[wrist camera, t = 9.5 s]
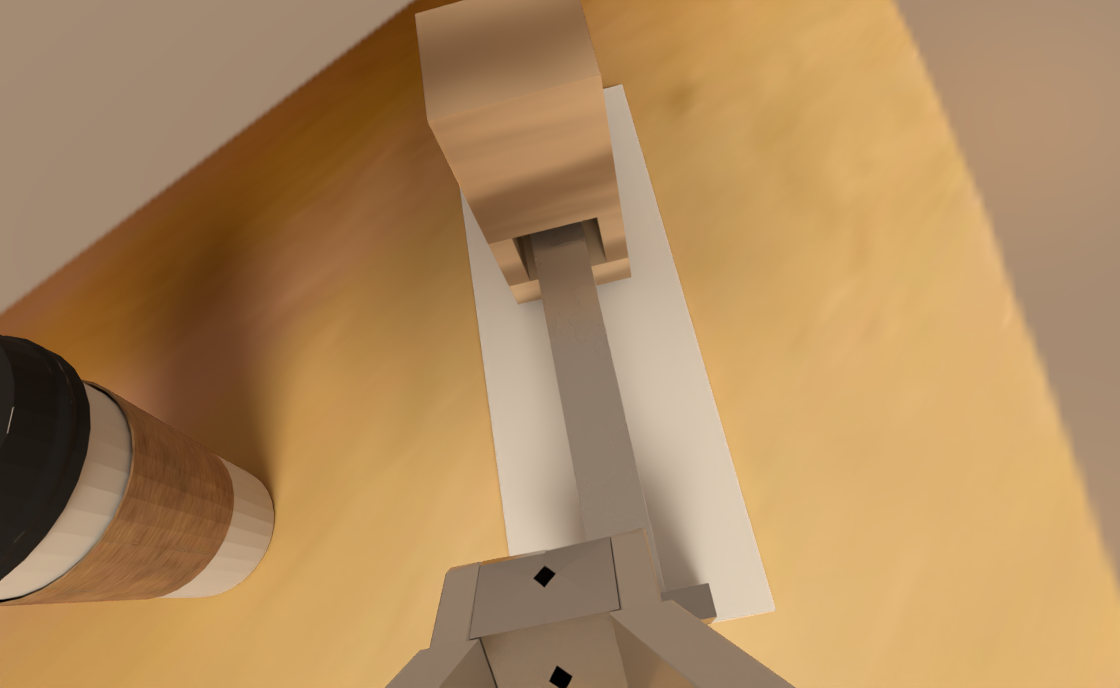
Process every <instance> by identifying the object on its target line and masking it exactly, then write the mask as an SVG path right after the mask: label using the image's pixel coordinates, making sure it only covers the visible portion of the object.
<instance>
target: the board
mask: <svg viewBox="0 0 1120 688" xmlns="http://www.w3.org/2000/svg"><path fill="white" fill-rule="evenodd" d="M603 93H604V99H605V106H606V112H607V119H608V125H609V132H610V139H611V145H612V152H613V158H614V165H615V172H616V178H617V185H618V191H619V198H620V204H621V211H622V218H623V224H624V231H625V237H626V244H627V251H628V257H629V264H630V270H631V277H630V278H626V279H622V280H618V281H614V282H610V283H605V284H601V285H597V286H596V287H597V292H598V296H599V301H600V305H601V309H602V314H603V318H604V322H605V327H606V331H607V336H608V340H609V344H610V349H611V353H612V358H613V362H614V366H615V371H616V375H617V379H618V384H619V388H620V393H621V397H622V401H623V406H624V410H625V414H626V419H627V423H628V428H629V432H630V436H631V441H632V445H633V450H634V454H635V458H636V463H637V467H638V471H639V476H640V480H641V485H642V489H643V493H644V498H645V502H646V507H647V511H648V515H649V520H650V524H651V528H652V533H653V537H654V542H655V546H656V550H657V555H658V559H659V564H660V568H661V572H662V577H663V581H664V585H665V590H666V591H670V590H675V589H680V588H685V587H690V586H696V585H701V584H706V583H709V586H710V590H711V594H712V598H713V602H714V606H715V610H716V614H717V617H716V618H715V619H714V621H713V622H712V623H716V622H721V621H726V620H731V619H737V618H742V617H747V616H752V615H757V614H762V613H767V612H773V611H775V610H776V609H775V605H774V602H773V598H772V595H771V592H770V588H769V585H768V581H767V578H766V574H765V571H764V568H763V564H762V561H761V557H760V554H759V551H758V547H757V544H756V540H755V537H754V533H753V530H752V527H751V523H750V520H749V516H748V513H747V509H746V506H745V503H744V499H743V496H742V492H741V489H740V486H739V482H738V479H737V475H736V472H735V468H734V465H733V462H732V458H731V455H730V451H729V448H728V444H727V441H726V438H725V434H724V431H723V427H722V424H721V421H720V417H719V414H718V410H717V407H716V403H715V400H714V397H713V393H712V390H711V386H710V383H709V379H708V376H707V373H706V369H705V366H704V362H703V359H702V356H701V352H700V349H699V345H698V342H697V338H696V335H695V332H694V328H693V325H692V321H691V318H690V315H689V311H688V308H687V304H686V301H685V297H684V294H683V291H682V287H681V284H680V280H679V277H678V273H677V270H676V267H675V263H674V260H673V256H672V253H671V250H670V246H669V243H668V239H667V236H666V232H665V229H664V226H663V222H662V219H661V215H660V212H659V208H658V205H657V202H656V198H655V195H654V191H653V188H652V185H651V181H650V178H649V174H648V171H647V167H646V164H645V161H644V157H643V154H642V150H641V147H640V143H639V140H638V137H637V133H636V130H635V126H634V123H633V120H632V116H631V113H630V109H629V106H628V102H627V99H626V96H625V92H624V89H623V85H622V84H621V85H617V86H613V87H609V88H605V89H603ZM460 193H461V201H462V208H463V215H464V223H465V230H466V238H467V245H468V252H469V260H470V267H471V275H472V282H473V289H474V297H475V304H476V312H477V319H478V326H479V334H480V341H481V349H482V356H483V364H484V371H485V378H486V386H487V393H488V401H489V408H490V415H491V423H492V430H493V438H494V445H495V452H496V460H497V467H498V475H499V482H500V489H501V497H502V504H503V512H504V519H505V527H506V534H507V541H508V549H509V556H514V555H519V554H525V553H530V552H535V551H541V550H546V549H547V550H550V549H554V548H559V547H563V546H568V545H573V544H577V543H582V542H586V541H587V539H586V534H585V528H584V523H583V517H582V512H581V507H580V501H579V496H578V490H577V485H576V480H575V474H574V469H573V463H572V458H571V453H570V447H569V442H568V436H567V431H566V426H565V420H564V415H563V410H562V404H561V399H560V393H559V388H558V383H557V377H556V372H555V366H554V361H553V356H552V350H551V345H550V339H549V334H548V329H547V323H546V318H545V312H544V307H543V302H542V299H539V300H534V301H530V302H526V303H522V304H517V302H516V299H515V297H514V295H513V293H512V291H511V289H510V287H509V285H508V283H507V281H506V279H505V277H504V275H503V273H502V271H501V269H500V267H499V265H498V263H497V261H496V259H495V257H494V255H493V253H492V251H491V249H490V247H489V245H488V243H487V241H486V239H485V237H484V235H483V233H482V231H481V229H480V227H479V225H478V223H477V221H476V219H475V217H474V215H473V213H472V211H471V209H470V207H469V204H468V202H467V200H466V198H465V196H464V194H463V192H462V190H461V188H460Z"/></svg>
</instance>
